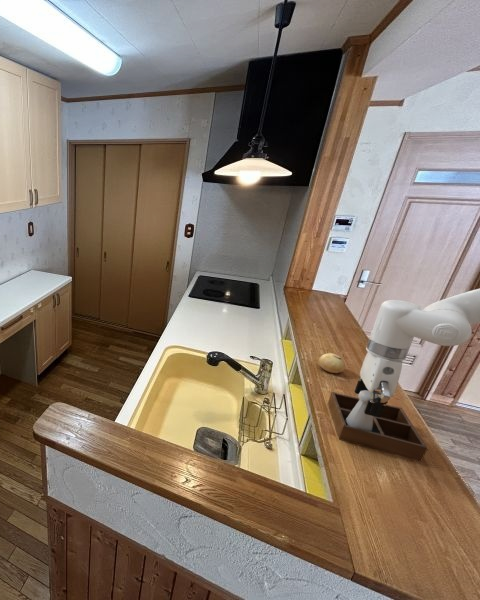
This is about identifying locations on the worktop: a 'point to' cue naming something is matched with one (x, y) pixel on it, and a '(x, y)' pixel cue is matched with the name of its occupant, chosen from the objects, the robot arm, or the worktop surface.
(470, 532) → the worktop surface
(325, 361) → the tan oval lump
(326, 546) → the worktop surface
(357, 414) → the salt shaker
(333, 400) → the grid
